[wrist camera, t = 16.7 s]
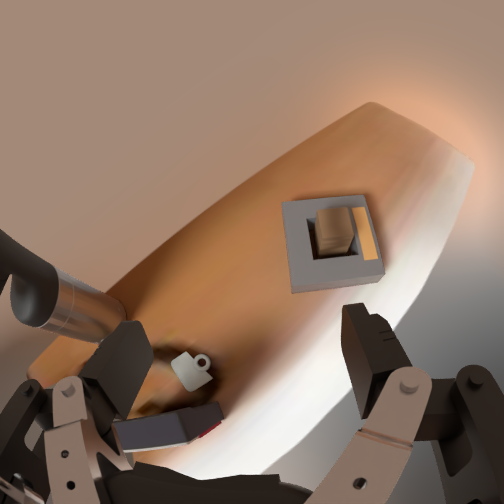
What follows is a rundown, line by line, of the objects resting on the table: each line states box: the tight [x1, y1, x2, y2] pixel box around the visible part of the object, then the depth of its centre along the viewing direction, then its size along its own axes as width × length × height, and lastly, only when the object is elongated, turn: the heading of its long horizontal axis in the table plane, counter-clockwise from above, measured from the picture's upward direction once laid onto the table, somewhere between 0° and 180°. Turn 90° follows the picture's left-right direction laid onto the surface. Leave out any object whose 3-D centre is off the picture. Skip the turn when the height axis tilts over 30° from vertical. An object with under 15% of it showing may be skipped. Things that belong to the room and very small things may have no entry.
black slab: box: [112, 401, 224, 452], centre depth 29 cm, size 11×4×15 cm, turn 111°
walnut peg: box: [314, 207, 354, 260], centre depth 40 cm, size 4×4×8 cm
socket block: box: [281, 195, 385, 293], centre depth 42 cm, size 14×14×4 cm
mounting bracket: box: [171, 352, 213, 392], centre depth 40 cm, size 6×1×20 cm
